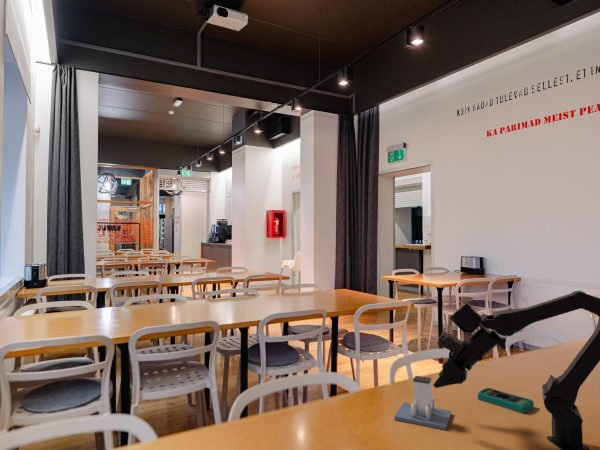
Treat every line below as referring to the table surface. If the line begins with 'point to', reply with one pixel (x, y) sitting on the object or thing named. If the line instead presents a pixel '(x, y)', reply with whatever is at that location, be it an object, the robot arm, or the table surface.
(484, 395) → the digital multimeter
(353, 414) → the table surface
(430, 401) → the plate
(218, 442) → the table surface
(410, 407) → the grey pegged base
